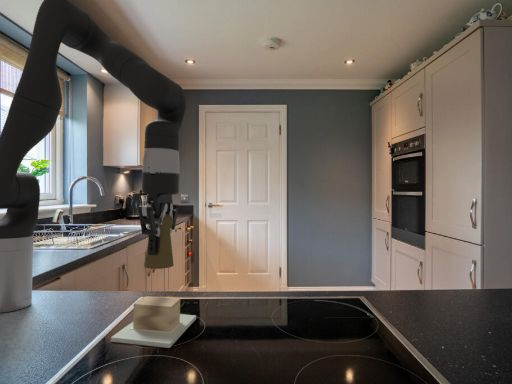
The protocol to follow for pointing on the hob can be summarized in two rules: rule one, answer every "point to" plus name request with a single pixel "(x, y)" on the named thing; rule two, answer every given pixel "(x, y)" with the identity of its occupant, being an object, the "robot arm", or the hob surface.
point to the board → (154, 334)
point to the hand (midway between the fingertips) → (158, 252)
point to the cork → (162, 247)
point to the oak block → (156, 313)
